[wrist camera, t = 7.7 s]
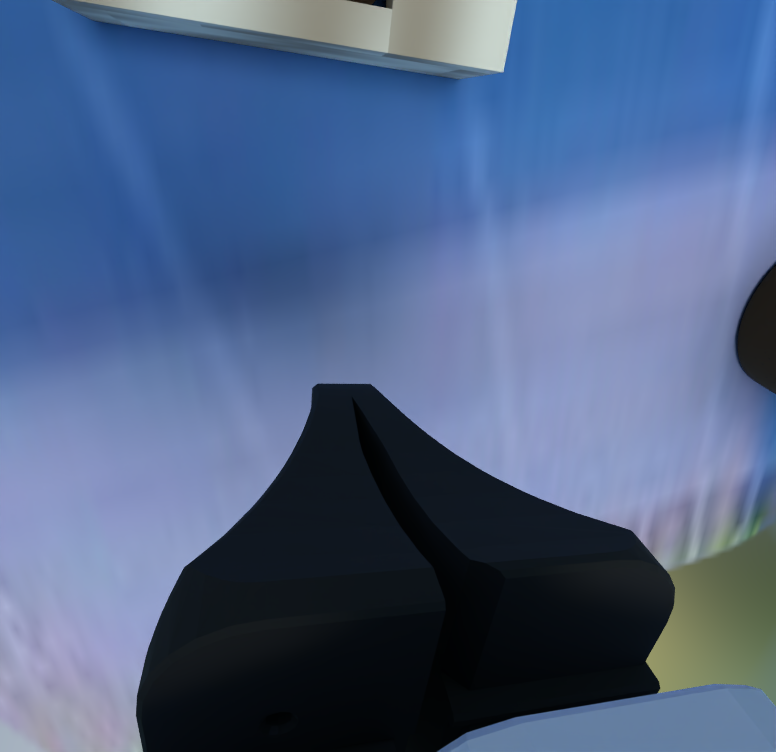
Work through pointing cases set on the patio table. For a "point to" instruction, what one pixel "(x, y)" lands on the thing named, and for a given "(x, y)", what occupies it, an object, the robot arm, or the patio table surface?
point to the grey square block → (336, 29)
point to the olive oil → (760, 334)
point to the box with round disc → (364, 1)
